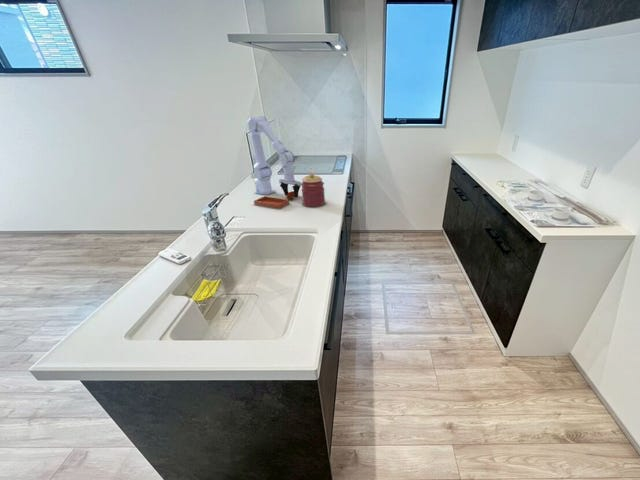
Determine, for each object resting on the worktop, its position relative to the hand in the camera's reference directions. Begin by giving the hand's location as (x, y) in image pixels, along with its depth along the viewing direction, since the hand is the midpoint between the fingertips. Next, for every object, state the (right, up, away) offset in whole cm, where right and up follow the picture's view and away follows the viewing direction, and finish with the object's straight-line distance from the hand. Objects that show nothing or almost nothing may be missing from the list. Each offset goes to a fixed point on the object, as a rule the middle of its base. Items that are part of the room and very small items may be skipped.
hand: (291, 196), depth 191 cm
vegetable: (0, -1, +1) cm, 2 cm away
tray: (-9, -7, -9) cm, 15 cm away
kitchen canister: (+15, -7, -8) cm, 18 cm away
